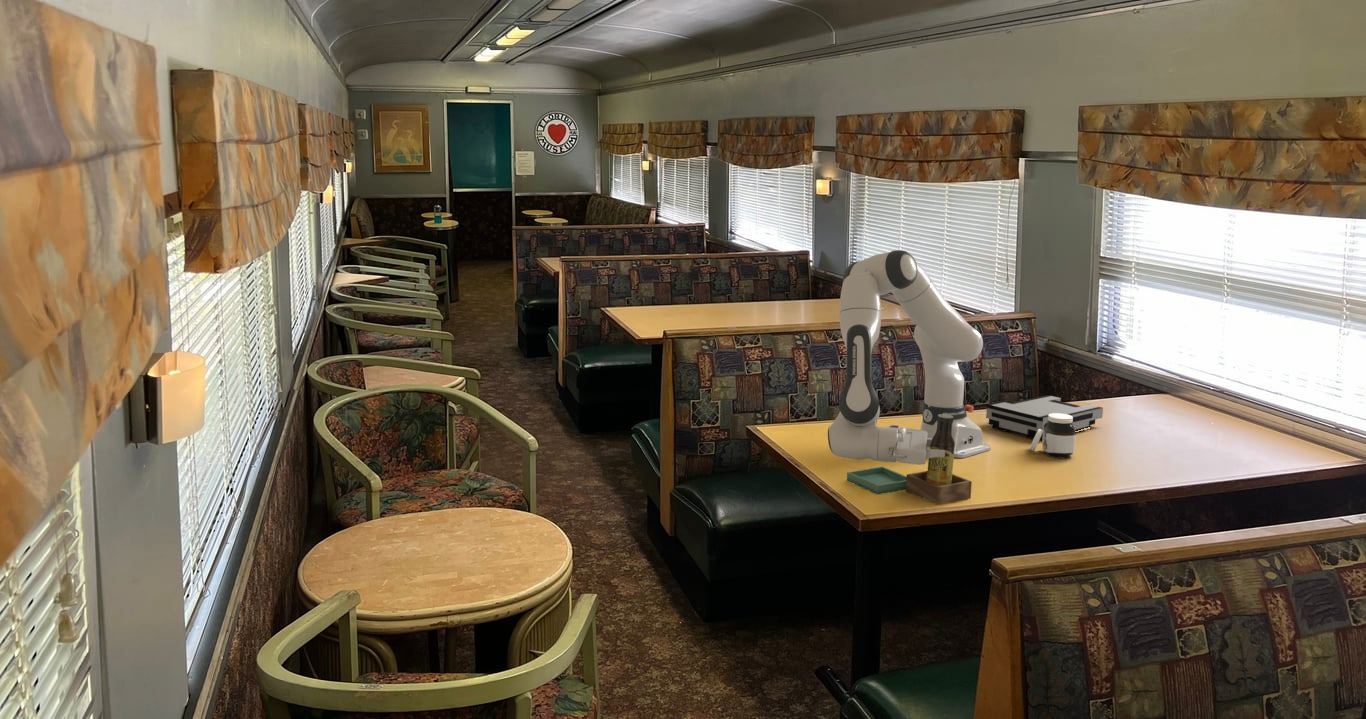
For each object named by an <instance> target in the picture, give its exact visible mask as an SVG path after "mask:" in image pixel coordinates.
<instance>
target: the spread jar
mask: <svg viewBox="0 0 1366 719" xmlns="http://www.w3.org/2000/svg"><path fill="white" fill-rule="evenodd" d="M1072 422H1073V417H1072V416H1071V415H1067V414H1061V413H1052V414H1049V415H1048V421H1047V422H1046V423H1045V425H1044V427H1043V430H1041V429H1038V431H1037V433H1036V435H1035V437H1034V439H1033V438H1032V441H1031V443H1030V446H1029V451H1032V452H1034V451H1035V450H1036V448H1037V447H1038V444H1039V442H1040V438H1041V435H1042V433H1043V437H1042V441H1041V447H1042V451H1043V453H1044V455H1046V456H1048V455H1049V457H1051V456H1054V457H1053V458H1057V457H1065V458H1069V457H1070V456H1073V454H1074V453H1075V452H1074V451H1075V447H1076V446H1075V445H1076V433H1075V429H1074V426H1073V424H1072ZM1068 456H1069V457H1068Z"/></svg>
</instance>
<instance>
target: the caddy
mask: <svg viewBox="0 0 1366 719" xmlns="http://www.w3.org/2000/svg"><path fill="white" fill-rule="evenodd" d="M927 471H928V470H925V471H919V472H913V473H907V474H906V476H907V477H906V489H905V492H907V493H909V494H911V495H914V496H915V497H919V498H921V499H923V500H926V501H928V502H930V503H933V504H936V505H937V506H938V505H944V504H949V503H953V502H958V501H963V500H968V499H969V500H970V499H972V498H971V497H972V485H973V484H972V482H973V481H972V480H969V479H967V478H964V477H962V476H958V475H957V474H954V473H952V480H951V484H948V485H943V486H937V485H935V484H932V483H930V482H927Z"/></svg>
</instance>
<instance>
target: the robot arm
mask: <svg viewBox="0 0 1366 719" xmlns="http://www.w3.org/2000/svg"><path fill="white" fill-rule="evenodd" d="M889 293H892V295H893V296H894V298H895V299H896V301H897V303H898V304H899V305H900V306H901V308H902V309H903V311H904V313H905V314H906V315H907V317H908V318H909V319H910V320H911V322H912V323H913V324H915V326H914V327H915V328H914V330H913V338H914V341H915V343H916V345H917V346H918V348H919V350H920V354H921V358H922V364H923V369H924V378H925V379H924V385H925V386H924V400H923V402H922V408H921V409H922V410H921V414H922V420H921V424H920V429H919V428H918V429H916V428H912V427H911V428H909V427H900V426H899V425H896V424H891V425H890V426H885V427H884V426H877V422H878V419H879V417H880V413H881V407H880V399H879V396H878V394H877V392H876V390H875V388H874V385H873V381H872V351H873V347H874V345H875V343H876V342H877V341H878V340H879V337H880V332H881V327H882V326H881V325H882V304H881V303H882V301H881V296H884V295H887V294H889ZM839 326H840V327H839V328H840V332H841V338H842V340H843V343H844V346H845V351H846V377H845V378H846V379H845V384H844V387H843V388H842V391H841V393H840V396H839V398H838V407H839V413H838V415H837V416H836V417H835V419H834V420H833V422H832V423H831V425H830V426H828V427H827V440H828V442H827V443H828V447H829V450H830V451H831V453H832V454H833V455H835V457H836V456H837V457H839V458H845V459H853V460H867V459H869V460H873V461H876V462H877V461H878V462H886V463H896V462H898V463H902V464H908V465H909V464H910V465H920V466H921V465H926V458H927V459H929V458H934V457H944V456H945V449H939V448H938V449H930V445H931V441H932V438H933V437H934V435H935V433H936V429H937V422H938V421H937V416H938V415H939V414H948V415H952V416H953V417H954V420H953V423H952V437H953V439H954V442H955V447H954V458H959V459H964V458H968V457H970V456H974V455H978V454H981V453H985V452H988V451H991V446H990V444H988V443H986V442H985V441H984V435H983V430H982V428H981V427H980V426H979V425H977V424H976V422H975V421H973V420H971V418H969V417H968V415H967V412H969V413H973V412H974V409H975V407H974V406H973V405H970V404H966V405H965V404H964V392H965V377H964V375H963V373H962V372H961V370H960V366H959V364H958V362H959V363H960V362H964V363H965V362H973V361H974V360H975V359H977V358H978V357H979V356H980V354H981V353H982V350H983V347H984V341H983V336H982V334H981V333H980V332H979V331H978V330H976V329H975V328H974V327H973V326H972V325H971V324H969V323H968V322H967V321H966V320H965V318H964V317H963V316H962V315H961V314H960V313H959V311H957V310H956V309H955V308H954V307H953V306H952V305H951V304H950V303H949V302H948V301H947V300H946V299H945V297H944V296H943V295H942V293H941V292H940V291H939V289H938V288H937V286H936V285H935V283H934V281H932V279H931V277H930V276H929V275H928V273H927V272H926V271H925V269H924V268H923V267H922V266H921V264H919V262H917V261H916V259H915V257H913V255H912V254H911V253H910V252H908V251H906V250H900V249H897V250H896V249H895V250H892V251H890V252H882V253H877V254H874V255H872V256H869V257H867V258H864V259H862V260H860V261H854V262H853V263H851V264H849V265H848V266H846V268H845V270H844V272H843V276H842V286H841V292H840V298H839Z"/></svg>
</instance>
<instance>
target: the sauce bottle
mask: <svg viewBox="0 0 1366 719" xmlns="http://www.w3.org/2000/svg"><path fill="white" fill-rule="evenodd" d="M953 420H954V417H953V416H952V415H948V414H939V415H938V416H937V421H938V422H937V429H936V433H935V435H934V437H933V438H932V441H931V445H930V449H938V448H939V449H945V456H944V457H934V458H928V462H927V470H926V471H927V482H930V483H932V484H935V485H937V486H943V485H948V484H951V480H952V474H953V469H954V468H953V467H954V459H955V457H954V447H955V442H954V439H953V437H952V423H953Z"/></svg>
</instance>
